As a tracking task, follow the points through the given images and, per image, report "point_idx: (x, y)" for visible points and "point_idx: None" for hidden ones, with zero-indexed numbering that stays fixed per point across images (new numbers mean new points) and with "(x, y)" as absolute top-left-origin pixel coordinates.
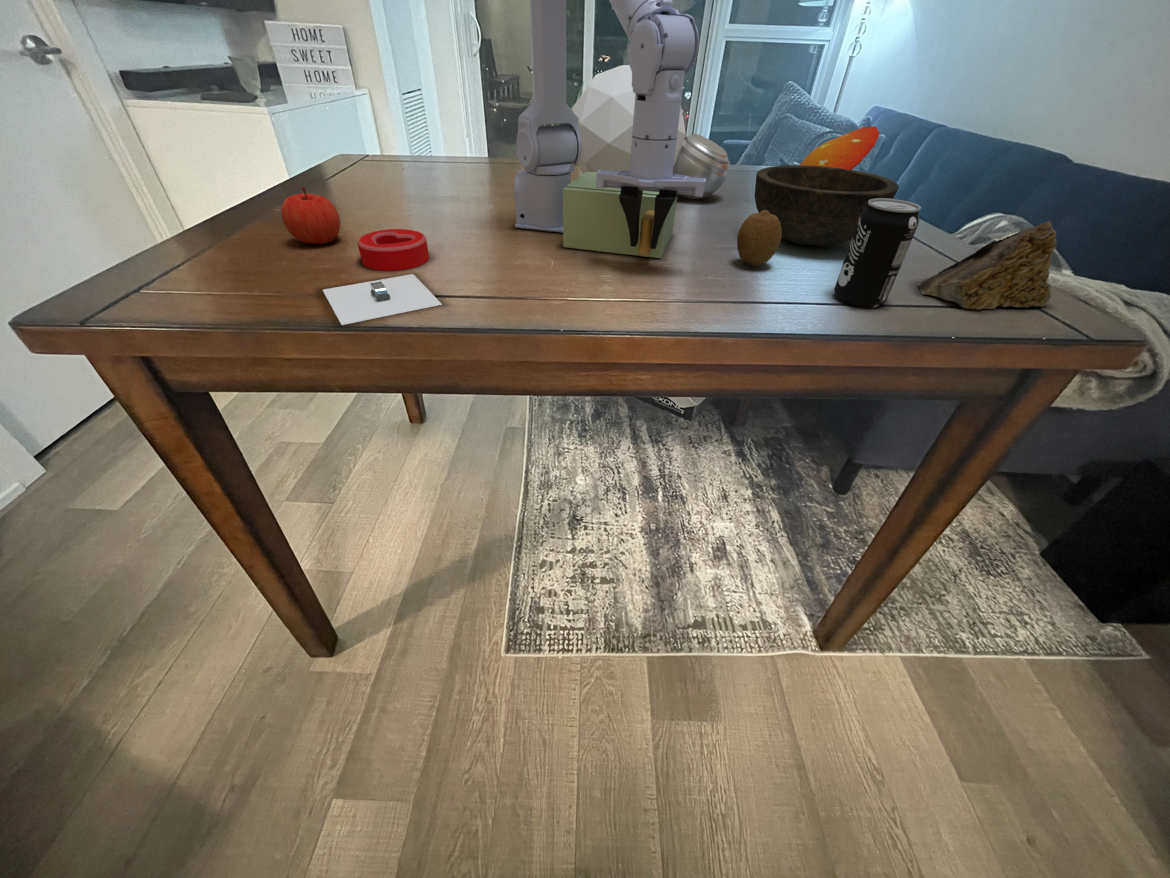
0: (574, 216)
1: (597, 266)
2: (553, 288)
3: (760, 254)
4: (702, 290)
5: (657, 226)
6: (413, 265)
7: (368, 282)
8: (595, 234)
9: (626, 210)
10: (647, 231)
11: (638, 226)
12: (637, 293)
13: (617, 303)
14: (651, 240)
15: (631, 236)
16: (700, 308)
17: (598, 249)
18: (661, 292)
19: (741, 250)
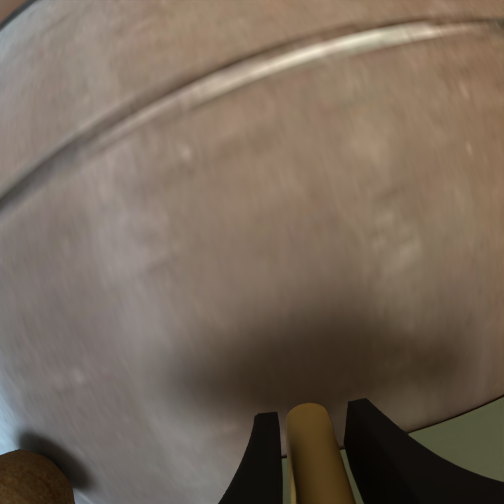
0: None
1: (440, 327)
2: (492, 95)
3: (6, 455)
4: (56, 270)
5: (251, 484)
6: None
7: None
8: (470, 446)
9: (474, 484)
10: (312, 475)
11: (362, 490)
12: (248, 136)
13: (287, 29)
14: (276, 431)
15: (382, 418)
16: (33, 124)
17: (444, 425)
18: (165, 187)
19: (45, 476)
